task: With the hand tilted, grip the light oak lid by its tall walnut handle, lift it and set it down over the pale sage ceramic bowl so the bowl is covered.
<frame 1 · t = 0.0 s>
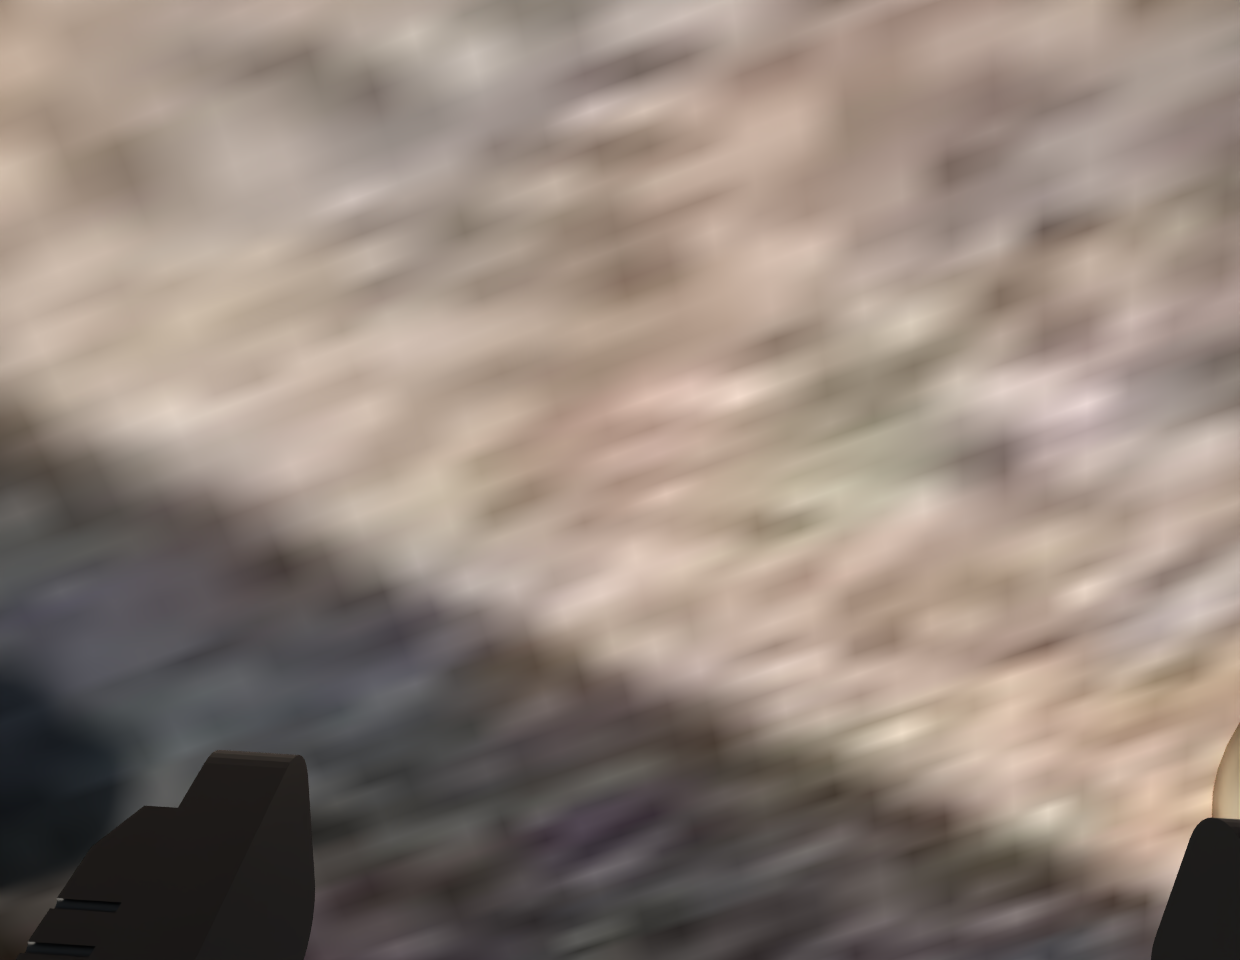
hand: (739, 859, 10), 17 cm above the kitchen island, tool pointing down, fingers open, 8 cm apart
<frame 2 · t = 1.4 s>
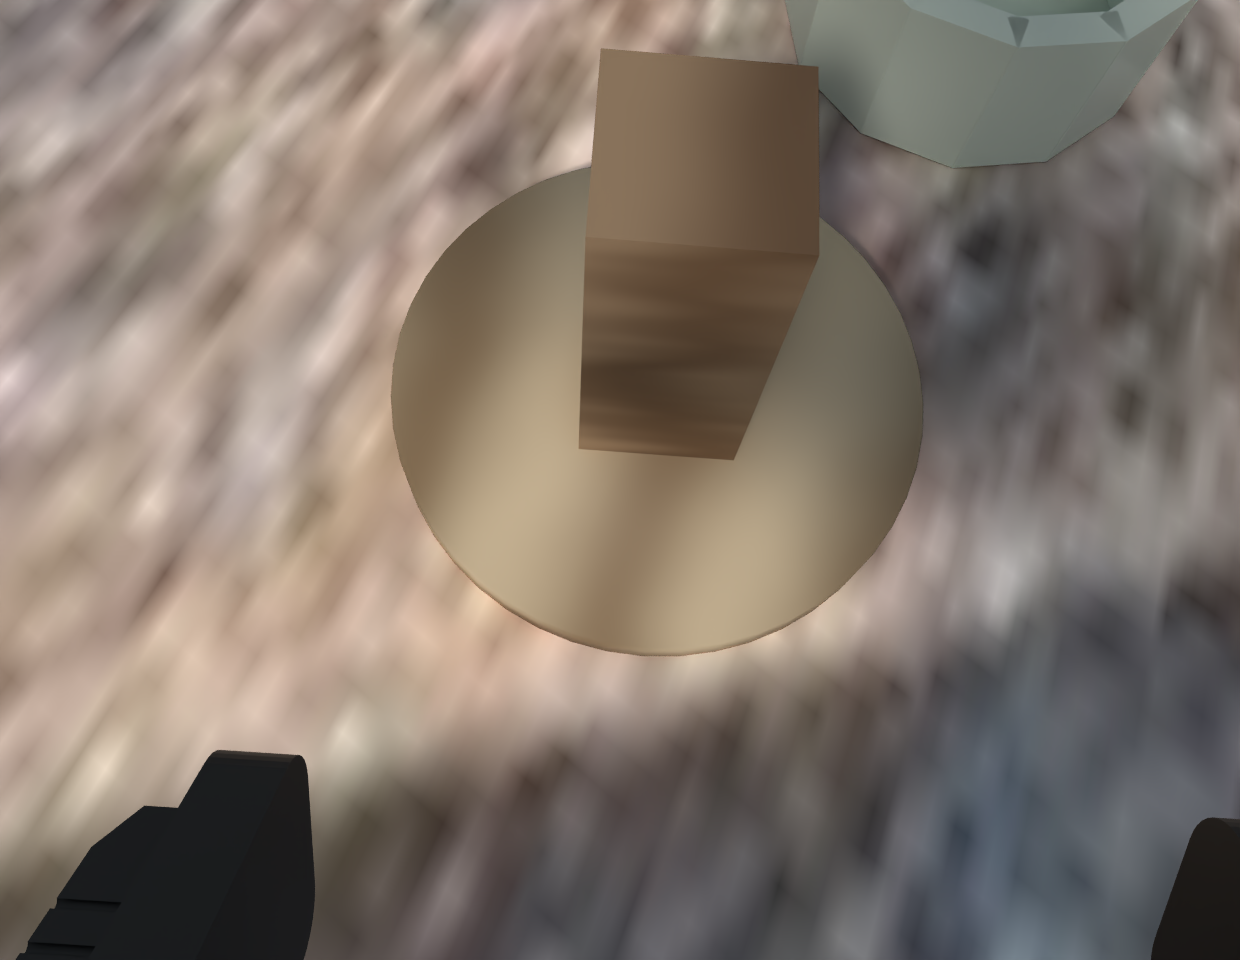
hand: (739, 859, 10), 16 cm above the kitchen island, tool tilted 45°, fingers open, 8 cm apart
lid: (656, 402, 29), on the kitchen island
bowl: (959, 21, 34), on the kitchen island
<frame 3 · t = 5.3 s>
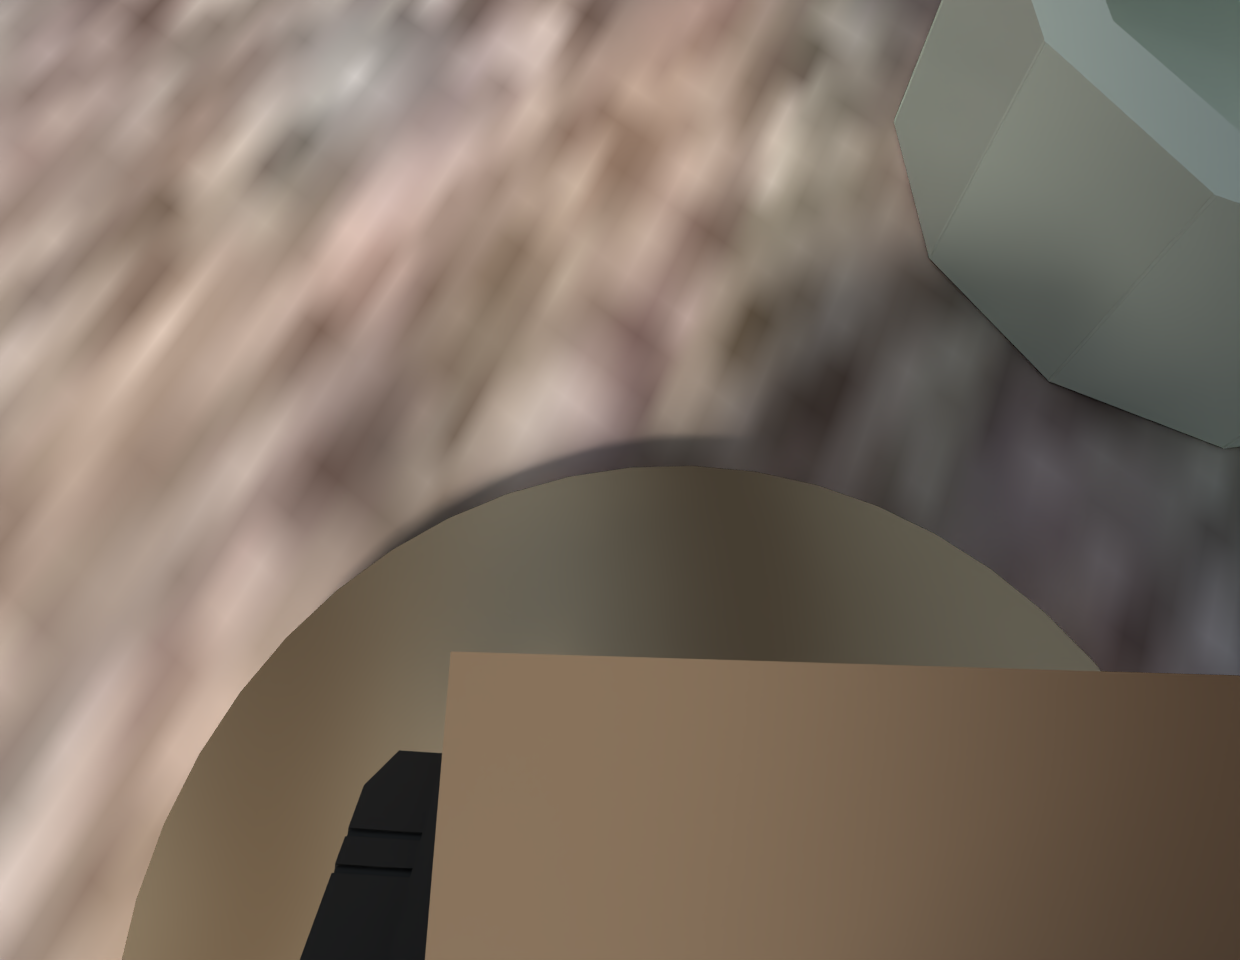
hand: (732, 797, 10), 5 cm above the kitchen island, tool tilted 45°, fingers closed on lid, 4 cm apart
bowl: (1204, 165, 19), on the kitchen island
when the fingers open (11 cm above the kitchen island, at t = 10.1 s): lid drops 1 cm, resting on bowl.
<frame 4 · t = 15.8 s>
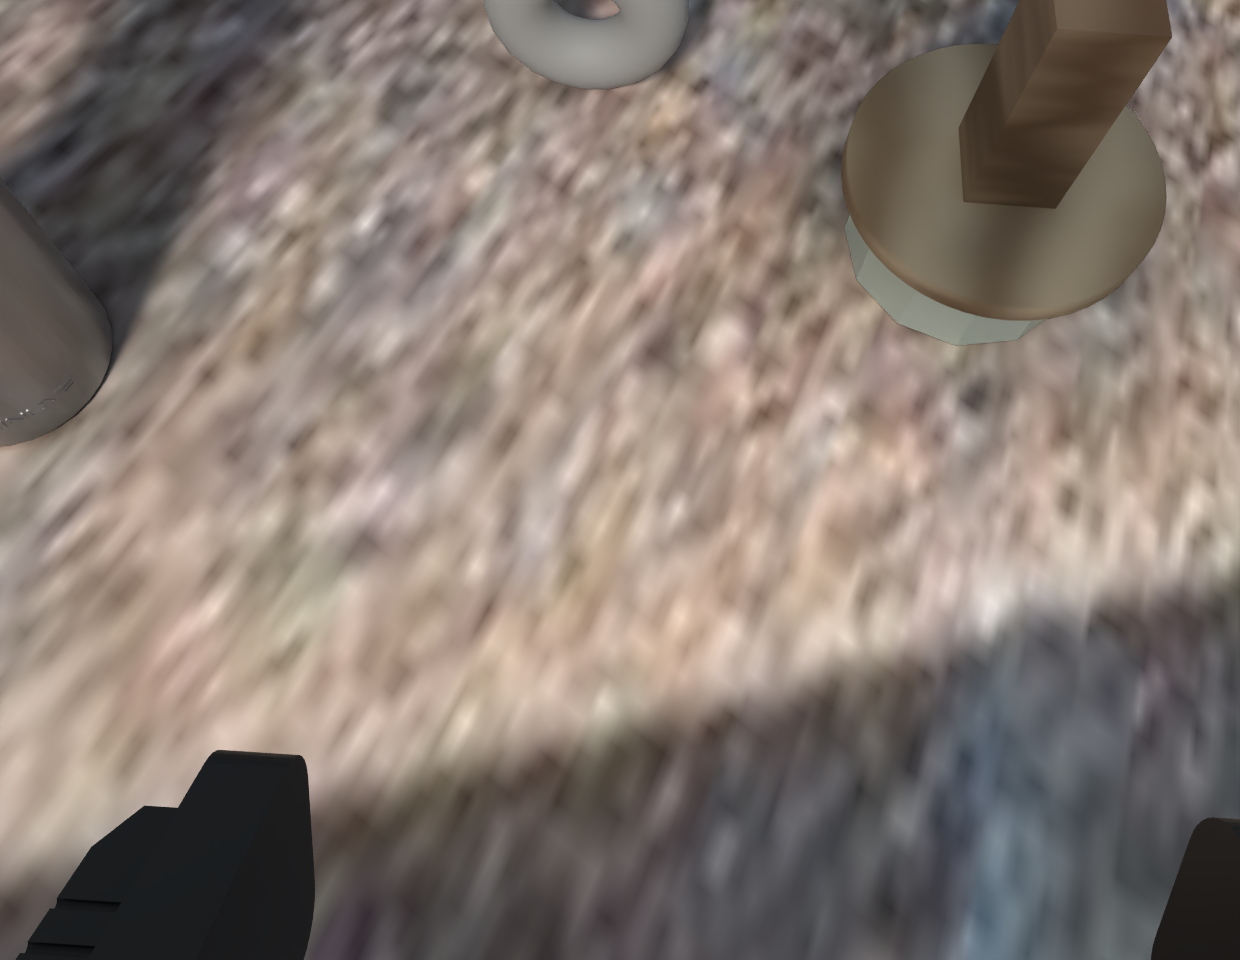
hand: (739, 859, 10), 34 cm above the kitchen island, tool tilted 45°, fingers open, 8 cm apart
donut: (585, 81, 56), on the kitchen island
lid: (996, 184, 48), point 5 cm above the kitchen island, touching bowl
bowl: (959, 245, 52), on the kitchen island
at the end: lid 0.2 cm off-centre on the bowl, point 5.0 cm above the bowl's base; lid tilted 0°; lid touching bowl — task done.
